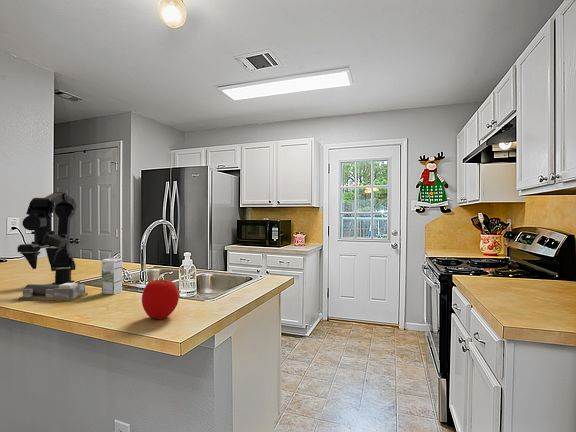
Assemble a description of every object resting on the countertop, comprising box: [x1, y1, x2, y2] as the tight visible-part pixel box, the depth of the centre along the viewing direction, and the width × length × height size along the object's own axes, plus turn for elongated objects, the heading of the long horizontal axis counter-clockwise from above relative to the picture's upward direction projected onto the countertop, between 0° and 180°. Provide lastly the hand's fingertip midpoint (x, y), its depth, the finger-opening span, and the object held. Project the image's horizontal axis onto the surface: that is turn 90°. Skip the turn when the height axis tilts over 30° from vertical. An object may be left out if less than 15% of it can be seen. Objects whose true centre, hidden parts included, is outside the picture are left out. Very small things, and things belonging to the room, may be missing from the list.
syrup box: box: [101, 257, 123, 295], centre depth 135 cm, size 6×6×14 cm
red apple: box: [141, 278, 180, 320], centre depth 104 cm, size 11×11×13 cm
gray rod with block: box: [23, 282, 79, 295], centre depth 127 cm, size 18×4×4 cm, turn 89°
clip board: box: [18, 283, 89, 302], centre depth 127 cm, size 9×21×4 cm, turn 89°
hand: (43, 266), depth 131 cm, fingers open, 9 cm apart
